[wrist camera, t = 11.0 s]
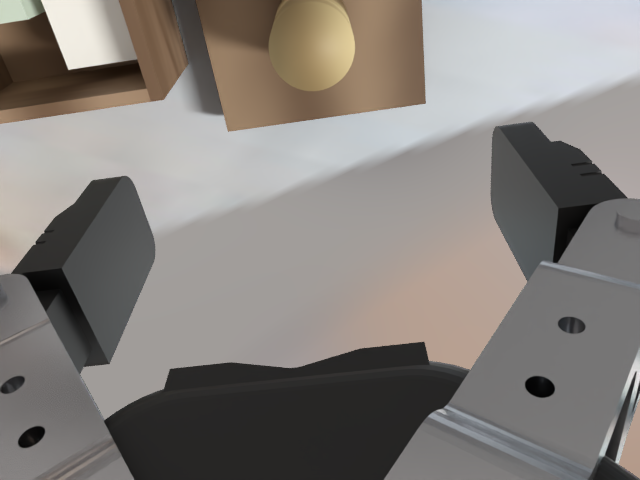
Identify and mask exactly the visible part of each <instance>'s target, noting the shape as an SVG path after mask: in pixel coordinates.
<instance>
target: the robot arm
mask: <svg viewBox="0 0 640 480" xmlns="http://www.w3.org/2000/svg"><path fill="white" fill-rule="evenodd" d="M491 169H492V170H491V204H492V210H493V214H494V218H495V220H496V222H497V224H498V226H499V228H500V230H501V232H502V234H503V236H504V238H505V239H506V241H507V243H508V245H509V247H510V249H511V251H512V252H513V255H514V257H515V259H516V261H517V262H518V264H519V266H520V268H521V270H522V272H523V274H524V276H525V277H526V280H527V284H526V285H525V287H524V289H523V290H522V291H521V293H520V294H519V296H518V297H517V299H516V301H515V302H514V304H513V305H512V307H511V308H510V310H509V311H508V313H507V314H506V316H505V318H504V319H503V320H502V322H501V324H500V325H499V327H498V328H497V330H496V332H495V333H494V334H493V336H492V337H491V339H490V341H489V342H488V344H487V345H486V347H485V348H484V350H483V351H482V353H481V354H480V356H479V357H478V359H477V360H476V362H475V364H474V365H473V367H472V368H471V370H469V369H465V368H462V367H459V366H455V365H451V364H445V363H441V362H433V361H429V360H428V356H427V351H426V347H425V343H424V342H418V343H409V344H400V345H390V346H382V347H372V348H362V349H358V350H354V351H351V352H348V353H345V354H341V355H338V356H335V357H331V358H328V359H325V360H321V361H318V362H315V363H312V364H308V365H305V366H302V367H298V368H282V367H271V366H261V365H251V364H240V363H222V364H213V365H203V366H193V367H185V368H175V369H170V371H169V375H168V378H167V381H166V384H165V388H164V389H163V390H160V391H157V392H155V393H152V394H150V395H147V396H145V397H142V398H140V399H138V400H136V401H134V402H132V403H131V404H129V405H127V406H125V407H124V408H122V409H120V410H119V411H117V412H116V413H114V414H113V415H111V416H110V417H109V418H107V419H106V420H104V418H103V416H102V414H101V412H100V410H99V409H98V407H97V405H96V403H95V402H94V399H93V398H92V396H91V394H90V392H89V390H88V388H87V386H86V384H85V383H84V381H83V379H82V377H81V375H80V373H81V371H82V369H83V367H86V366H95V365H104V364H110V361H111V359H112V357H113V354H114V352H115V350H116V348H117V345H118V343H119V341H120V338H121V336H122V334H123V331H124V329H125V326H126V324H127V322H128V320H129V317H130V315H131V313H132V311H133V308H134V306H135V304H136V301H137V299H138V297H139V295H140V292H141V290H142V288H143V285H144V283H145V281H146V278H147V276H148V273H149V271H150V269H151V267H152V264H153V262H154V259H155V242H154V238H153V234H152V231H151V229H150V226H149V223H148V221H147V218H146V215H145V212H144V210H143V207H142V204H141V202H140V199H139V196H138V194H137V191H136V188H135V186H134V184H133V182H132V180H131V179H130V178H129V177H127V176H121V177H114V178H106V179H99V180H93V181H91V182H90V184H89V185H88V186H87V188H86V189H85V190H84V192H83V193H82V194H81V196H80V197H79V198H78V199H77V201H76V202H75V203H74V204H73V205H72V206H70V207H69V208H67V209H66V210H65V211H63V212H62V213H60V214H59V215H58V216H56V217H55V218H54V219H53V221H52V222H51V223H50V224H49V226H48V227H47V228H46V229H45V231H44V232H45V233H44V234H42V235H41V236H40V237H39V238H38V240H37V241H36V245H33V246H32V247H31V249H30V250H29V251H28V252H27V254H26V255H25V256H24V257H23V259H22V260H21V261H20V263H19V264H18V265H17V266H16V268H15V269H14V270H13V272H12V273H11V274H4V275H0V480H640V479H639V478H638V477H636V476H635V475H633V474H632V473H631V472H629V471H627V470H626V469H625V468H623V467H622V466H620V465H619V461H620V457H621V454H622V450H623V447H624V444H625V440H626V437H627V434H628V431H629V428H630V425H631V422H632V419H633V416H634V413H635V410H636V407H637V405H638V401H639V398H640V199H631V198H627V197H626V196H625V195H624V194H623V193H622V192H621V191H620V190H619V189H618V188H617V187H616V186H615V185H614V183H612V181H611V180H610V179H609V178H608V177H607V176H606V175H604V174H602V173H601V170H600V169H599V168H598V167H597V166H596V165H595V164H592V161H591V160H590V159H589V158H588V157H587V156H586V155H585V154H584V153H583V152H582V151H581V150H580V149H578V148H575V147H573V146H571V145H568V144H566V143H564V142H562V141H554V142H550V141H549V139H548V138H547V137H546V136H545V135H544V134H543V133H542V131H541V130H539V128H538V127H537V126H536V125H535V124H534V123H533V122H526V123H519V124H512V125H504V126H497V127H495V129H494V131H493V137H492V166H491Z"/></svg>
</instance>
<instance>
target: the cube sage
mask: <svg viewBox="0 0 640 480" xmlns="http://www.w3.org/2000/svg"><path fill="white" fill-rule="evenodd" d="M43 12H45V9H44V6H43V4H42V1H41V0H0V24H3V23H9V22H16V21H22V20H28V19H30V18H32V17H35V16H37V15H39V14H41V13H43Z"/></svg>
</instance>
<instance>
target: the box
mask: <svg viewBox="0 0 640 480" xmlns="http://www.w3.org/2000/svg"><path fill="white" fill-rule="evenodd" d="M119 3H120V6H121V10H122V13H123V16H124V19H125V22H126V25H127V28H128V31H129V35H130V38H131V41H132V44H133V47H134V50H135V53H136V56H137V59H136V60H129V61H123V62H116V63H110V64H103V65H97V66H90V67H84V68H77V69H71V70H68V67H67V65H66V62H65V60H64V57H63V55H62V52H61V50H60V47H59V44H58V42H57V39H56V37H55V34H54V32H53V29H52V27H51V24H50V21H49V19H48V16H47V14H46V11H45V12H43V13H41V14H39V15H37V16H35V17H32V18H30V19H28V20H22V21H16V22H9V23H3V24H0V124H2V123H9V122H16V121H23V120H30V119H36V118H43V117H50V116H57V115H63V114H70V113H77V112H84V111H90V110H97V109H104V108H111V107H117V106H124V105H131V104H138V103H145V102H151V101H158V100H164V99H165V97H166V96H167V94H168V93H169V91H170V90H171V88H172V87H173V85H174V84H175V83H176V81H177V80H178V78H179V77H180V75H181V74H182V72H183V71H184V70H185V68H186V67H187V65H188V64H189V63H188V60H187V56H186V52H185V49H184V45H183V41H182V37H181V34H180V30H179V26H178V23H177V19H176V15H175V12H174V8H173V4H172V1H171V0H119Z"/></svg>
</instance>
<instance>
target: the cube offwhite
mask: <svg viewBox="0 0 640 480" xmlns="http://www.w3.org/2000/svg"><path fill="white" fill-rule="evenodd" d="M41 1H42V4H43V6H44V9H45V11H46V14H47V16H48V19H49V21H50V24H51V27H52V29H53V32H54V34H55V37H56V39H57V42H58V44H59V47H60V50H61V52H62V55H63V57H64V60H65V62H66V65H67V67H68V70H71V69H77V68H84V67H90V66H97V65H103V64H110V63H116V62H123V61H129V60H136V59H137V56H136V53H135V50H134V47H133V44H132V41H131V38H130V35H129V31H128V28H127V25H126V22H125V19H124V16H123V13H122V10H121V6H120V3H119V0H41Z"/></svg>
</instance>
